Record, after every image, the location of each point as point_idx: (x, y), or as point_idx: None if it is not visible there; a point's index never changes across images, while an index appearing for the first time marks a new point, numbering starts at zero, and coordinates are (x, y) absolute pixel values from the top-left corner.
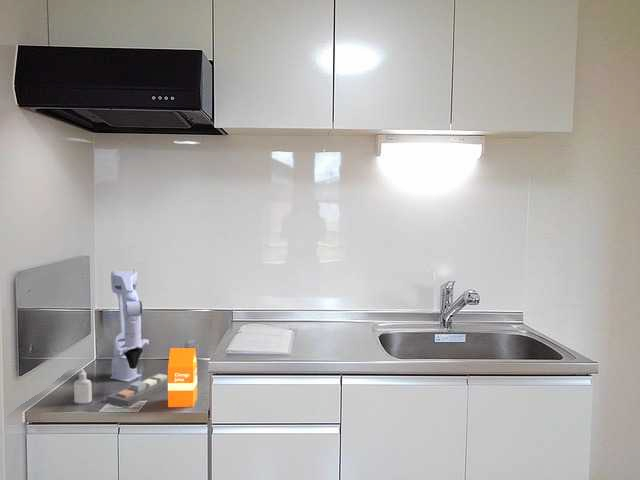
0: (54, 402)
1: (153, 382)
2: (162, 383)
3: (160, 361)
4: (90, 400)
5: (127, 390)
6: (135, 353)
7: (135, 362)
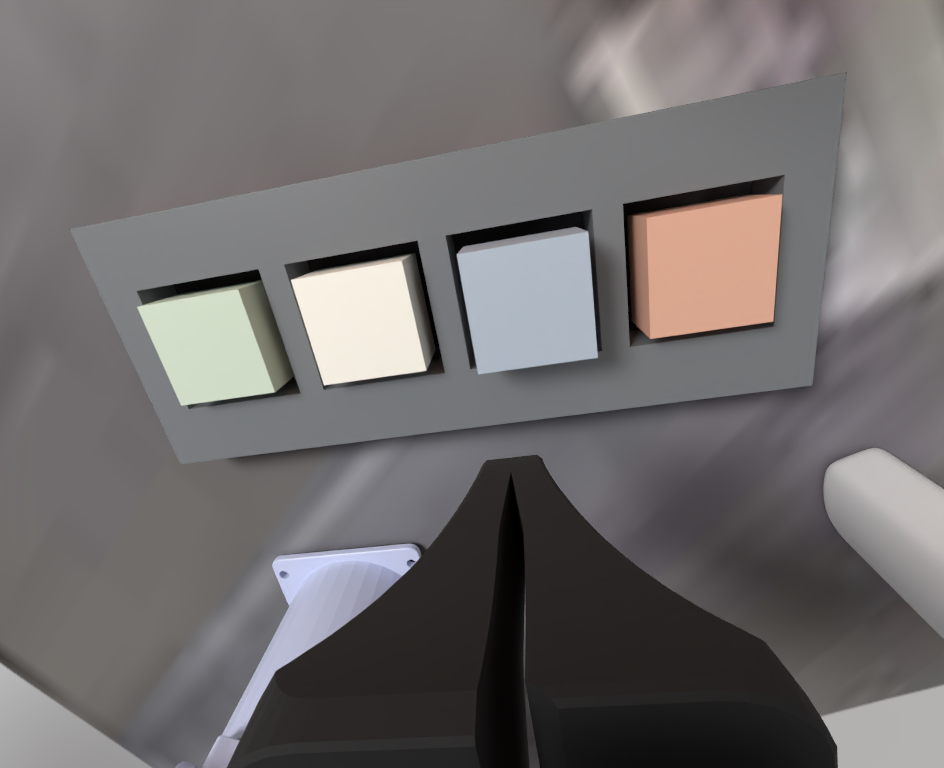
0: None
1: (346, 270)
2: (276, 201)
3: (45, 651)
4: (865, 457)
5: (666, 295)
6: (664, 657)
7: (527, 500)
